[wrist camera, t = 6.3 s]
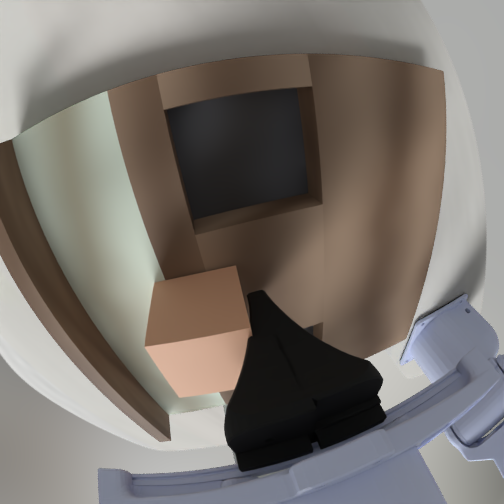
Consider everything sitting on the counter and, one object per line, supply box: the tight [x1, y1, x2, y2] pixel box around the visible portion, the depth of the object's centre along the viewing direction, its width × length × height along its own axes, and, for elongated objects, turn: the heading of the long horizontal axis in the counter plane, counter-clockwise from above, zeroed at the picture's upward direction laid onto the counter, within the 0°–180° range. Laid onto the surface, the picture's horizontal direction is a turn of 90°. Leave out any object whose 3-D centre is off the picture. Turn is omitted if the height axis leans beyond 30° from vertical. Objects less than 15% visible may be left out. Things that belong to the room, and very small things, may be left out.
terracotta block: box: [144, 265, 252, 398], centre depth 12 cm, size 4×4×4 cm
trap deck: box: [0, 54, 446, 442], centre depth 14 cm, size 23×22×4 cm
